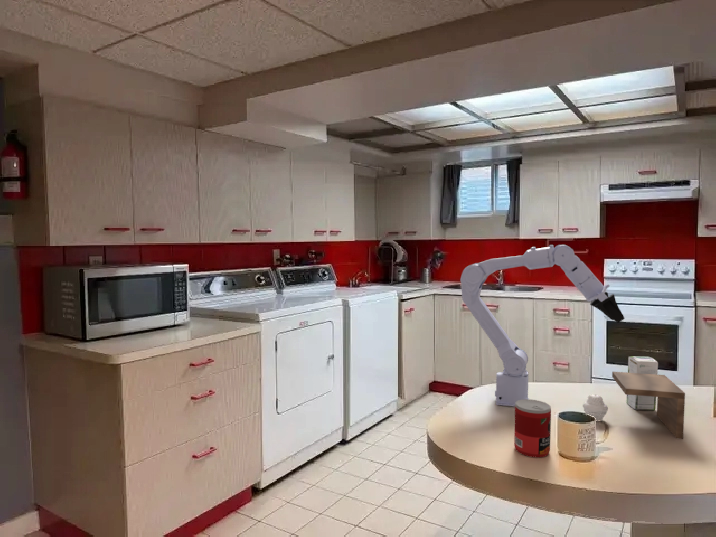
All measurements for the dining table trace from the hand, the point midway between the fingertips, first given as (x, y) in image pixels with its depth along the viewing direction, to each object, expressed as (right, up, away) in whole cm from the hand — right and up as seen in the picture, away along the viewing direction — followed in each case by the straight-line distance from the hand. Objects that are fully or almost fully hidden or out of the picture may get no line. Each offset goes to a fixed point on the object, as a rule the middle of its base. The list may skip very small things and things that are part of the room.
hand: (618, 319), depth 135 cm
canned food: (-31, -29, -20) cm, 47 cm away
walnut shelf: (+4, -27, -5) cm, 28 cm away
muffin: (-7, -27, -1) cm, 28 cm away
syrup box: (+11, -27, +8) cm, 30 cm away
